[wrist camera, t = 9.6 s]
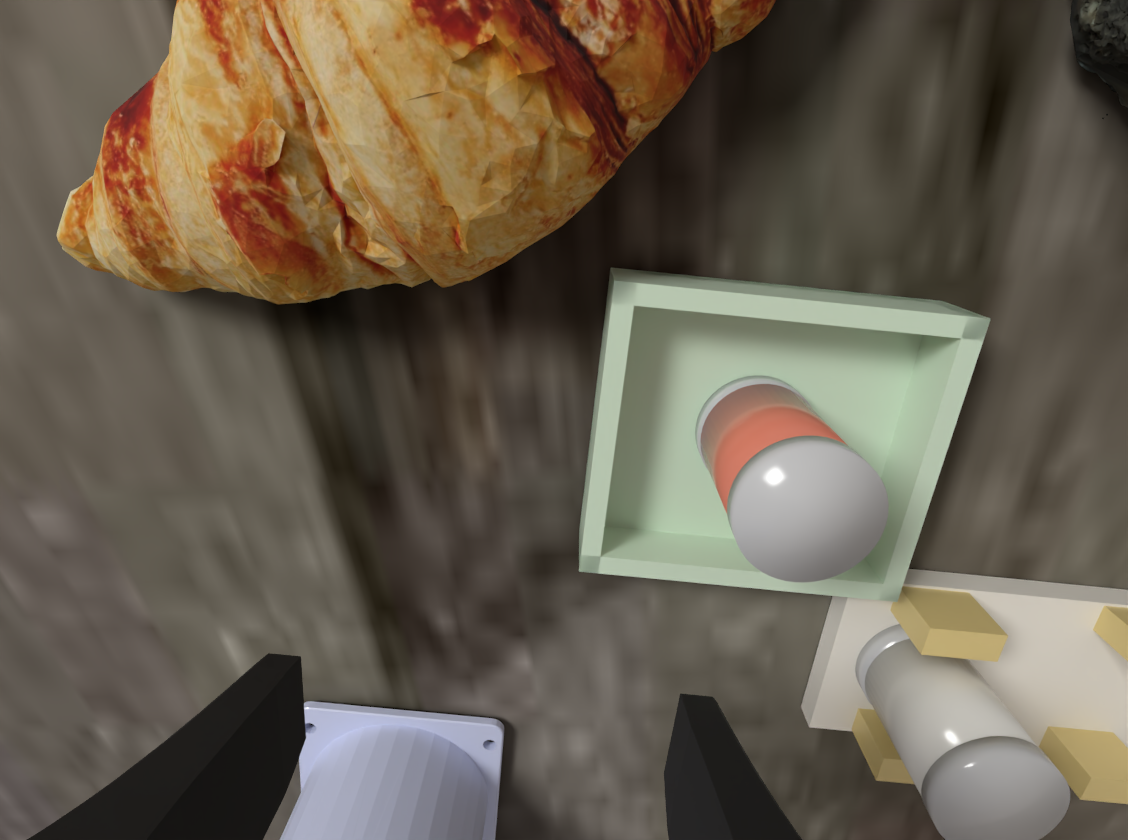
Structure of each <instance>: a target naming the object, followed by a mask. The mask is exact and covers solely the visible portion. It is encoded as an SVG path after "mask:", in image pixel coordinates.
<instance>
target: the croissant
mask: <svg viewBox="0 0 1128 840" xmlns="http://www.w3.org/2000/svg"><path fill="white" fill-rule="evenodd" d="M775 1H776V0H177V3H176V8H175V12H174V19H173V28H172V38H171V42H170V45H169V48H170V50H169V55H168V57H167V58H166V60H165V61H164V63H163V64H162V66H161V68H160V70H159V72H158V73H157V74H156V75H155V76H154V77H153V78H152V79H150V80H149V81H148V82H147V83H146V84H145V85H144V86H143V87H142V88H141V89H139V90H138V91H137V92H136V93H135V94H134V95H133V96H132V97H130V98H129V99H128V100H127V101H126V102H125V103H124V104H122V105H121V106H120V107H119V108H118V109H117V110H116V111H115V112H113V114H112V115H111V117H110V119H109V120H108V122H107V124H106V125H105V128H104V134H103V140H102V145H101V151H100V155H99V157H98V161H97V165H96V168H95V171H94V176H92V177H90V178H89V179H88V180H87V181H86V182H85V183H83V184H82V186H80V187H79V188H77V189H75V190H73V191H71V192H70V195H69V198H68V200H67V203H66V206H65V209H64V212H63V215H62V218H61V222H60V225H59V229H58V232H57V238H58V241H59V243H60V244H61V245H62V249H63V250H64V251H66V252H67V253H68V254H70V255H71V256H72V257H74V258H75V259H76V260H78V261H79V262H80V263H82V264H83V265H84V266H86V267H88V268H91V269H94V270H97V271H103V272H109V273H114V274H115V275H117V276H118V277H120V278H123V279H127V280H129V281H131V282H133V283H135V284H137V285H139V286H141V287H143V288H146V289H150V290H153V291H157V290H166V291H170V292H186V291H190V290H194V289H199V288H212V289H213V290H217V291H220V292H238V293H240V294H242V295H245V296H250V297H255V298H256V299H265V300H268V301H270V302H273V303H275V304H289V303H306V302H310V301H313V300H317V299H321V298H329V297H331V296H334V295H336V294H338V293H339V292H341V291H346V290H350V289H355V288H360V287H362V288H365V289H370V288H373V287H376V286H379V285H383V284H392V283H399V284H403V285H406V286H409V287H413V286H416V285H418V284H421V283H423V282H426V281H428V280H430V279H431V278H432V279H433V280H434V282H436V283H437V284H438V285H439V286H441V287H443V288H444V287H449V286H453V285H455V284H457V283H461V282H464V281H470V280H472V279H474V278H476V277H478V276H480V275H482V274H484V273H485V272H487V271H489V270H491V269H493V268H495V267H497V266H499V265H501V264H503V263H505V262H507V261H508V260H509V259H511V258H512V257H514V256H515V255H516V254H518V253H519V252H521V251H522V250H523V249H525V248H527V247H528V246H530V245H532V244H533V243H535V242H537V241H538V240H540V239H542V238H543V237H545V236H546V235H548V234H550V233H551V232H553V231H555V230H556V229H558V228H560V227H561V226H563V225H564V224H565V223H566V222H567V221H568V220H569V219H570V218H572V217H573V216H574V215H575V214H576V213H577V212H578V211H579V210H580V209H581V208H582V207H584V206H585V205H586V204H587V203H588V202H589V201H590V200H591V199H592V198H593V197H594V196H595V195H596V193H597V192H598V191H599V190H600V189H601V188H602V187H603V186H604V185H605V184H606V183H607V181H608V180H609V179H610V178H611V177H612V176H613V175H614V174H615V173H616V171H617V170H618V168H619V167H620V165H621V163H622V162H623V160H624V159H625V158H626V157H627V156H628V155H629V154H630V153H631V152H632V151H633V150H634V149H635V148H636V147H637V145H638V144H639V143H640V142H641V141H642V140H643V139H644V138H645V137H646V136H647V135H648V134H649V133H650V132H651V131H652V130H653V129H655V128H656V127H657V126H658V125H659V123H660V122H661V121H662V119H663V118H664V117H665V116H666V115H667V114H668V113H669V112H670V111H671V110H672V109H673V108H674V107H675V105H676V104H677V103H678V102H679V101H680V100H681V98H682V97H683V96H684V94H685V92H686V91H687V89H688V88H689V86H690V85H691V83H692V82H693V80H694V79H695V77H696V76H697V74H698V73H699V71H700V70H701V69H702V68H703V66H704V65H705V64H706V63H707V61H708V59H709V57H710V54H711V51H714V52H717V51H718V50H720V49H721V48H722V47H724V46H726V45H728V44H731V43H733V42H735V41H737V40H740V39H742V38H743V37H744V36H745V35H746V34H748V33H749V32H750V31H751V30H752V29H753V28H754V27H756V26H757V25H758V24H759V23H760V22H761V21H763V20H764V19H765V18H766V17H767V15H768V14H769V12H770V10H771V8H772V7H773V5H774V3H775Z"/></svg>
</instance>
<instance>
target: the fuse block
mask: <svg viewBox="0 0 1128 840" xmlns="http://www.w3.org/2000/svg"><path fill="white" fill-rule="evenodd" d="M898 624H900V625H901V627H902V628H903V629H904V631H905V632H906V634H907V635H908V637H909V638H910V640H911V641H912V642H913V644H914V645H915V647H916V648H917V650H918V651H919V652H920V654H921V655H930V656H941V657H951V658H962V659H969V660H970V661H971V663H972V664H973V665H974V666H975V668H976V669H977V670H978V672H979V673H980V674H981V675H982V677H983V678H984V679H985V680H986V682H987V683H988V684H989V686H990V687H991V688H992V689H993V691H994V692H995V693H996V694H997V696H998V697H999V698H1000V699H1001V701H1002V702H1003V703H1004V705H1005V706H1006V707H1007V708H1008V710H1009V711H1010V712H1011V713H1012V715H1013V716H1014V717H1015V719H1016V720H1017V721H1018V722H1019V724H1020V725H1021V726H1022V727H1023V729H1024V730H1025V731H1026V732H1027V734H1028V735H1029V736H1030V738H1031V739H1032V740H1033V741H1034V743H1035V744H1036V745H1037V746H1038V747H1039V748H1040V749H1041V750H1043V752H1044V753H1045V754H1046V755H1047V756H1048V757H1049V759H1050V760H1051V761H1052V762H1053V764H1054V765H1055V766H1056V767H1057V769H1058V770H1059V771H1060V773H1061V774H1062V775H1063V776H1064V778H1065V779H1066V781H1067V783H1068V785H1069V786H1070V787H1071V789H1072V790H1073V791H1074V792H1075V794H1076V795H1077V796H1078V797H1079V799H1080V800H1090V801H1100V802H1111V803H1122V804H1128V590H1124V589H1114V588H1103V587H1093V586H1083V585H1072V584H1062V583H1052V582H1041V581H1031V580H1021V579H1010V578H1000V577H990V576H979V575H969V574H959V573H949V572H938V571H928V570H918V569H908V571H907V574H906V577H905V580H904V583H903V586H902V590H901V593H900V596H899V599H898V602H891V601H881V600H870V599H860V598H850V597H839V596H832V600H831V603H830V607H829V610H828V614H827V617H826V621H825V624H824V628H823V631H822V635H821V638H820V642H819V645H818V649H817V652H816V656H815V659H814V663H813V666H812V670H811V673H810V677H809V680H808V684H807V687H806V691H805V694H804V698H803V701H802V705H801V708H802V711H803V713H804V716H805V718H806V721H807V723H808V726H809V727H811V728H822V729H832V730H843V731H853V734H854V736H855V738H856V740H857V742H858V744H859V746H860V748H861V750H862V752H863V754H864V756H865V759H866V761H867V763H868V765H869V767H870V769H871V771H872V773H873V775H874V777H875V779H876V781H886V782H897V783H908V784H914V782H913V780H912V778H911V776H910V774H909V773H908V771H907V769H906V767H905V765H904V763H903V761H902V760H901V758H900V756H899V754H898V752H897V750H896V749H895V747H894V745H893V743H892V741H891V739H890V737H889V736H888V734H887V732H886V730H885V728H884V726H883V724H882V723H881V721H880V719H879V717H878V715H877V713H876V712H875V710H874V708H873V706H872V705H871V704H870V703H869V701H868V700H867V698H866V696H865V694H864V692H863V691H862V689H861V687H860V685H859V683H858V681H857V678H856V672H855V666H856V661H857V658H858V655H859V653H860V651H861V650H862V648H863V647H864V645H865V644H866V643H867V642H868V641H869V640H870V639H871V638H872V637H874V636H875V635H876V634H878V633H879V632H881V631H883V630H885V629H887V628H889V627H891V626H894V625H898Z"/></svg>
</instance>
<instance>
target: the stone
mask: <svg viewBox="0 0 1128 840" xmlns="http://www.w3.org/2000/svg"><path fill="white" fill-rule="evenodd" d="M1070 23H1071V28H1072V34H1073V40H1074V46H1075V52H1076V58H1077V61H1078V63H1079V64H1080V66H1082V67H1083V68H1085V69H1086V70H1087V71H1090V72H1093V73H1097V74H1098V75H1099V77H1100V78H1101V79H1102V80H1103V81H1104V82H1105V83H1106V84H1107V85H1108V86H1109V87H1110V89H1111V90H1112V91H1114V92H1117V93H1118V97H1119V102H1120V104H1121V105H1122V106H1125V107H1128V0H1073V2H1072V6H1071V16H1070ZM1106 115H1108V114H1106ZM1102 119H1104V118H1102Z"/></svg>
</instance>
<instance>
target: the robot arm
mask: <svg viewBox="0 0 1128 840" xmlns="http://www.w3.org/2000/svg"><path fill="white" fill-rule="evenodd" d="M309 723H311V724H313V725H310V724H309ZM487 740H492V741H494V742H489V741H487ZM503 740H504V725H503V724H502V722H500V721H499V720H497V719H493V718H484V717H473V716H462V715H452V714H441V713H430V712H420V711H409V710H398V709H388V708H377V707H366V706H356V705H345V704H334V703H324V702H313V701H311V702H305V703H304V699H303V683H302V668H301V657H300V656H290V655H279V654H267V655H266V656H265V657H263V658H262V659H261V660H260V661H259V662H257V663H256V664H255V665H254V666H253V667H252V668H251V669H249V670H248V671H247V672H246V673H245V674H244V675H243V676H241V677H240V678H239V679H238V680H237V681H236V682H235V683H233V684H232V685H231V686H230V687H229V688H228V689H227V690H225V691H224V692H223V693H222V694H221V695H220V696H218V697H217V698H216V699H215V700H214V701H213V702H211V703H210V704H209V705H208V706H207V707H206V708H204V709H203V710H202V711H201V712H200V713H199V714H197V715H196V716H195V717H194V718H192V719H191V720H190V721H189V722H188V723H186V724H185V725H184V726H183V727H182V728H180V729H179V730H178V731H177V732H176V733H174V734H173V735H172V736H171V737H170V738H168V739H167V740H166V741H165V742H163V743H162V744H161V745H160V746H158V747H157V748H156V749H155V750H153V751H152V752H151V753H149V754H148V755H147V756H145V757H144V758H143V759H142V760H140V761H139V762H138V763H136V764H135V765H134V766H132V767H131V768H130V769H129V770H127V771H126V772H125V773H123V774H122V775H121V776H119V777H118V778H117V779H116V780H114V781H113V782H111V783H110V784H109V785H107V786H106V787H105V788H103V789H102V790H100V791H99V792H98V793H96V794H95V795H93V796H92V797H91V798H89V799H88V800H86V801H85V802H83V803H82V804H81V805H79V806H78V807H76V808H75V809H73V810H72V811H70V812H69V813H67V814H66V815H64V816H63V817H61V818H60V819H58V820H57V821H56V822H54V823H53V824H51V825H50V826H48V827H46V828H45V829H43V830H42V831H40V832H39V833H37V834H35V835H34V836H32V837H31V838H29V839H27V840H263V838H264V836H265V834H266V832H267V830H268V828H269V826H270V824H271V822H272V820H273V818H274V816H275V814H276V812H277V810H278V808H279V806H280V804H281V802H282V800H283V798H284V796H285V793H286V791H287V788H288V786H289V783H290V780H291V778H292V775H293V773H294V770H295V767H296V765H297V762H298V759H299V764H300V780H301V794H300V796H299V798H298V801H297V803H296V805H295V807H294V810H293V812H292V814H291V816H290V818H289V821H288V823H287V825H286V827H285V830H284V832H283V834H282V836H281V838H280V840H495V836H496V824H497V812H498V800H499V788H500V776H501V764H502V752H503ZM664 781H665V798H666V813H667V827H668V835H669V840H802V839H801V837H800V836H799V835H798V833H797V832H796V830H795V829H794V828H793V826H792V825H791V823H790V822H789V820H788V819H787V817H786V816H785V814H784V813H783V811H782V810H781V809H780V807H779V805H778V804H777V802H776V801H775V799H774V798H773V796H772V795H771V793H770V792H769V790H768V788H767V787H766V785H765V784H764V782H763V781H762V779H761V778H760V776H759V774H758V773H757V771H756V770H755V768H754V766H753V765H752V763H751V761H750V760H749V758H748V756H747V755H746V753H745V751H744V750H743V748H742V746H741V744H740V743H739V741H738V739H737V738H736V736H735V734H734V732H733V730H732V729H731V727H730V725H729V723H728V722H727V720H726V718H725V716H724V714H723V712H722V711H721V709H720V707H719V705H718V703H717V702H716V700H715V699H714V698H713V697H709V696H699V695H689V694H680V698H679V703H678V708H677V713H676V718H675V722H674V727H673V732H672V737H671V742H670V747H669V751H668V756H667V761H666V766H665V771H664Z"/></svg>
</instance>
